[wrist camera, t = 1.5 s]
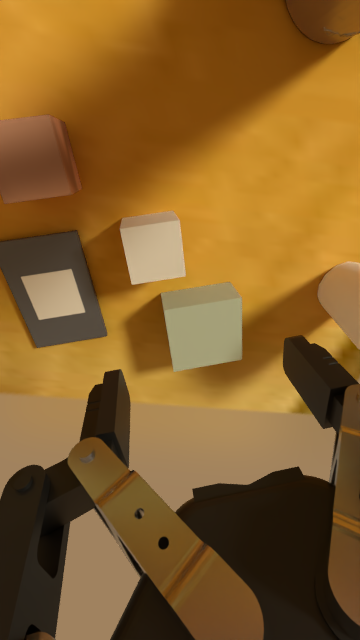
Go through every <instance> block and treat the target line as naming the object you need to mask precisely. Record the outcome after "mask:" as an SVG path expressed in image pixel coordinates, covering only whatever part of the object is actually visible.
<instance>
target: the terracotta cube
mask: <svg viewBox="0 0 360 640" xmlns="http://www.w3.org/2000/svg"><path fill="white" fill-rule="evenodd" d="M81 189H82V186H81V182H80V178H79V175H78V171H77V167H76V163H75V159H74V156H73V152H72V148H71V144H70V140H69V137H68V133H67V129H66V125H65V122H63V121H61V120H59V119H57V118H55V117H53V116H51V115H41V116H33V117H25V118H17V119H8V120H0V194H1V196H2V199H3V201H4V204H8V203H15V202H22V201H29V200H37V199H44V198H51V197H58V196H66V195H72V194H74V193H76V192H77V191H79V190H81Z"/></svg>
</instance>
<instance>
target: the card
mask: <svg viewBox="0 0 360 640" xmlns="http://www.w3.org/2000/svg"><path fill="white" fill-rule="evenodd" d="M0 267H1V270H2V272H3V274H4V276H5V278H6V281H7V283H8V285H9V287H10V289H11V292H12V294H13V296H14V298H15V300H16V303H17V305H18V307H19V309H20V311H21V313H22V316H23V318H24V320H25V322H26V324H27V327H28V329H29V331H30V333H31V335H32V338H33V340H34V342H35V344H36V346H37V348H39V347H45V346H51V345H57V344H63V343H69V342H75V341H81V340H87V339H92V338H98V337H104V336H107V331H106V327H105V324H104V321H103V317H102V314H101V310H100V307H99V303H98V300H97V297H96V293H95V290H94V286H93V283H92V280H91V276H90V273H89V269H88V266H87V262H86V259H85V256H84V252H83V249H82V245H81V242H80V239H79V235H78V232H77V230H75V231H69V232H62V233H55V234H48V235H41V236H34V237H28V238H21V239H14V240H7V241H0Z"/></svg>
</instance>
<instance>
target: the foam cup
mask: <svg viewBox="0 0 360 640" xmlns="http://www.w3.org/2000/svg"><path fill="white" fill-rule="evenodd" d="M317 296H318V299H319V302H320V304H321V305H322V306H323V308H324V309H325V310H326V311H327V312H328V314H329V315H330V316H331V317H332V318H333V319H334V321H335V322H336V323H337V324H338V325H339V326H340V328H341V329H342V330H343V331H344V332H345V333H346V335H347V336H348V337H349V338H350V339H351V340H352V342H353V343H354V344H355V345H356V346H357V348H358V349H359V350H360V263H356V262H345V263H342V264H339V265H337V266H335V267H334V268H332V269H331V270H330V271H329V272H328V273H326V274H325V276H324V277H323V279H322V281H321V282H320V284H319V288H318V294H317Z"/></svg>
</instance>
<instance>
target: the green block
mask: <svg viewBox="0 0 360 640" xmlns="http://www.w3.org/2000/svg"><path fill="white" fill-rule="evenodd" d="M161 298H162V304H163V310H164V316H165V323H166V329H167V335H168V341H169V347H170V353H171V359H172V364H173V370H174V372H175V371H181V370H187V369H192V368H198V367H204V366H209V365H215V364H220V363H226V362H232V361H237V360H242V297H241V296H240V295H239V293H238V292H237V291H236V289H235V288H234V287H233V285H232V284H231V283H230V282H226V283H220V284H214V285H208V286H201V287H195V288H189V289H183V290H176V291H170V292H164V293H161Z"/></svg>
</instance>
